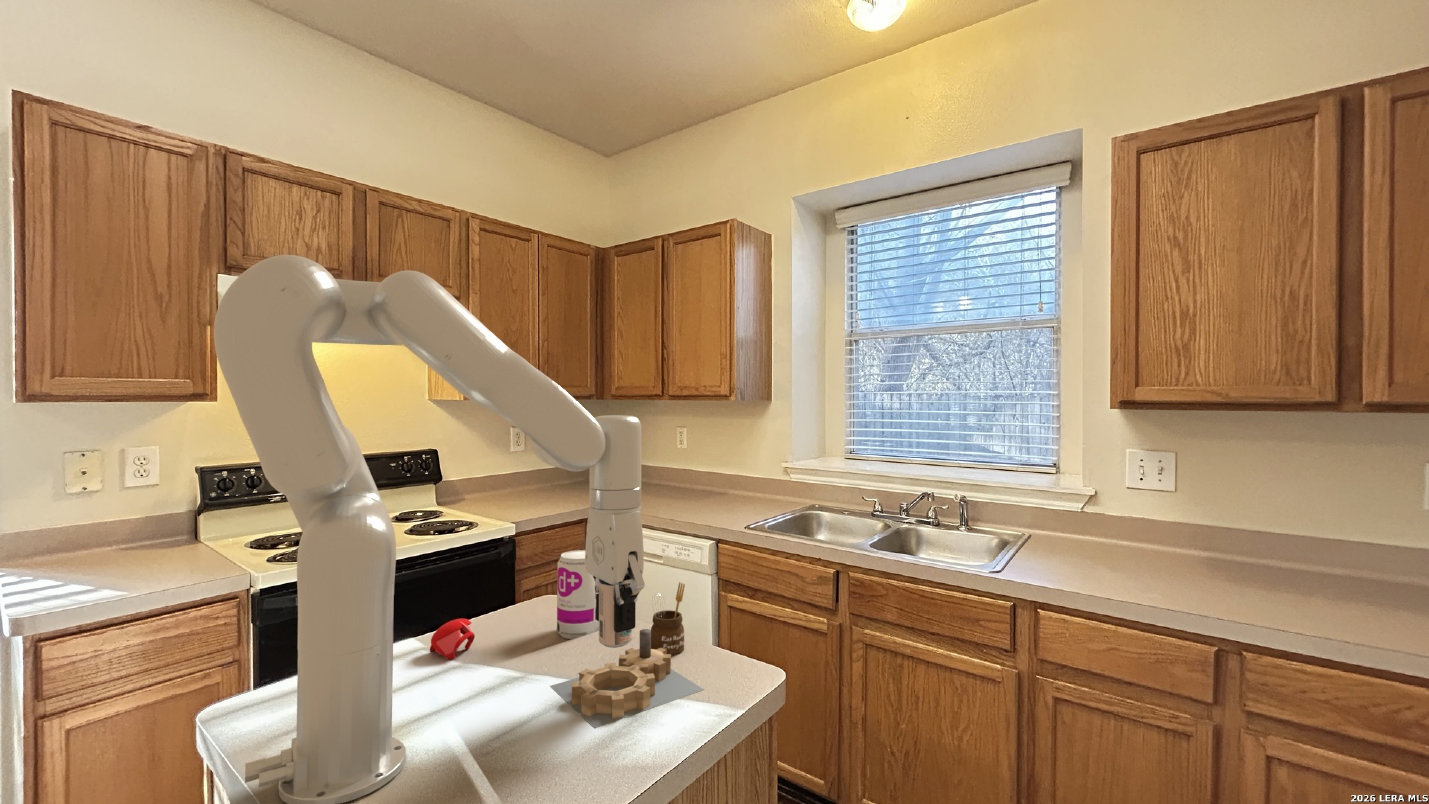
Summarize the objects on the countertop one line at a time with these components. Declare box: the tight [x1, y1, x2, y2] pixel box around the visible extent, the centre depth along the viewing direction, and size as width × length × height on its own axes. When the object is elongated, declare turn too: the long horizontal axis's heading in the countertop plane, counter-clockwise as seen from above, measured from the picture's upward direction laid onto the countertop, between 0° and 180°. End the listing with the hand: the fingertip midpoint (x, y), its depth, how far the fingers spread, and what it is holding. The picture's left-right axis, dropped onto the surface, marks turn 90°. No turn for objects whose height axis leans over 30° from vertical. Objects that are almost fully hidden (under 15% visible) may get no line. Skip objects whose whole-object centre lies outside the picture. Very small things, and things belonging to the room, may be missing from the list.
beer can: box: [598, 575, 633, 649], centre depth 87 cm, size 5×5×12 cm
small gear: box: [618, 628, 672, 681], centre depth 95 cm, size 8×8×6 cm
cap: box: [429, 618, 476, 660], centre depth 104 cm, size 8×6×6 cm
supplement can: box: [556, 549, 599, 640], centre depth 115 cm, size 8×8×15 cm
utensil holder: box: [650, 581, 686, 657], centre depth 104 cm, size 6×6×12 cm
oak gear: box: [572, 662, 655, 718], centre depth 87 cm, size 12×12×2 cm
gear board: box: [549, 668, 705, 729], centre depth 90 cm, size 18×15×1 cm
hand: (615, 623), depth 87 cm, fingers closed on beer can, 4 cm apart
